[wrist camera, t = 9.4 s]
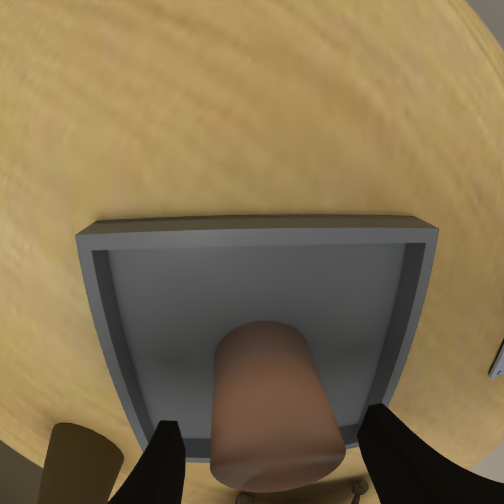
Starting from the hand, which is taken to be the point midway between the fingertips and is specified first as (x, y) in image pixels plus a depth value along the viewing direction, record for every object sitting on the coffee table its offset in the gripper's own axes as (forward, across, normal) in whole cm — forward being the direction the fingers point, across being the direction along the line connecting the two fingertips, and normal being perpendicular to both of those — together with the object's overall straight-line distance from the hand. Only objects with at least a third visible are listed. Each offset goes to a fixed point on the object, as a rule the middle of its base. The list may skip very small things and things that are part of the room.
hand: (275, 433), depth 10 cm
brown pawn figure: (+5, +13, +10) cm, 17 cm away
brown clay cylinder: (+4, 0, 0) cm, 4 cm away
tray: (+5, 0, 0) cm, 5 cm away
